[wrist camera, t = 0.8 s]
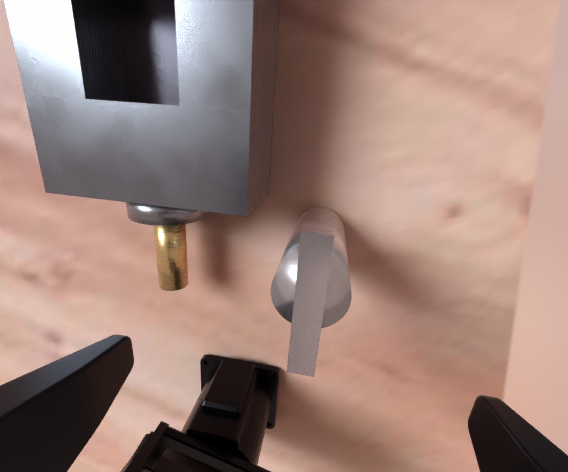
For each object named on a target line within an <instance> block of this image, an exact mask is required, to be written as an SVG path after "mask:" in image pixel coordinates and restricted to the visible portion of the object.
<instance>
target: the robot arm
mask: <svg viewBox="0 0 568 472" xmlns="http://www.w3.org/2000/svg"><path fill="white" fill-rule="evenodd" d="M207 361H208V362H207ZM200 363H201V394H200V396H199V398H198V400H197V402H196V404H195V406H194V408H193V410H192V412H191V414H190V416H189V418H188V420H187V422H186V424H185V426H184V428H183V430H182V432H181V431H179V430H176V429H174V428H172V427H170V426H169V424H167V423H165V422H162V421H161V422H160V424H159V425H158V427H157V428H156V430H155V431H154V432H151V433H150V434H146V435H145V437H144V438H143V440H142V442H141V443H140V445H139V446H138V448H137V450H136V451H135V453H134V454H133V456H132V457H131V459H130V460H129V462H128V463H127V464H126V465H125V467H124V468H123V469H122V470H121V471H120V472H271V471H268V470H266V469H264V468H262V467H259V466H257V464H258V460H259V456H260V451H261V447H262V442H263V438H264V434H265V429H266V428H268V429H272V428H274V426H275V419H276V408H277V397H278V386H279V374H280V372H279V370H278V368H276V367H273V366H267V365H262V364H256V363H251V362H245V361H240V360H234V359H229V358H223V357H218V356H212V355H204V356H203V357H202V359H201V362H200ZM133 364H134V356H133V349H132V342H131V339H130V337H128V336H123V335H112V336H110V337H108V338H106V339H103V340H101V341H99V342H97V343H94V344H92V345H90V346H88V347H86V348H83V349H81V350H79V351H77V352H74V353H72V354H70V355H68V356H65V357H63V358H61V359H59V360H56V361H54V362H52V363H50V364H48V365H45V366H43V367H41V368H39V369H36V370H34V371H32V372H30V373H27V374H25V375H23V376H21V377H18V378H16V379H14V380H12V381H10V382H7V383H5V384H3V385H1V386H0V472H67V471H68V469H69V468H70V467H71V465H72V464H73V462H74V461H75V459H76V458H77V456H78V455H79V454H80V452H81V451H82V449H83V448H84V446H85V445H86V444H87V442H88V441H89V439H90V438H91V436H92V435H93V433H94V432H95V430H96V429H97V427H98V426H99V424H100V423H101V421H102V420H103V418H104V416H105V415H106V413H107V411H108V409H109V408H110V406H111V404H112V402H113V401H114V399H115V397H116V396H117V394H118V392H119V390H120V389H121V387H122V385H123V383H124V382H125V380H126V378H127V377H128V375H129V373H130V371H131V369H132V367H133ZM272 373H274V374H272ZM468 429H469V433H470V437H471V441H472V444H473V448H474V451H475V455H476V458H477V462H478V466H479V469H480V472H568V455H566V454H565V453H564V452H563V451H562V450H560V449H559V448H558V447H557V446H556V445H554V444H553V443H552V442H551V441H550V440H548V439H547V438H546V437H545V436H543V435H542V434H541V433H540V432H539V431H538V430H536V429H535V428H534V427H533V426H532V425H530V424H529V423H528V422H527V421H526V420H524V419H523V418H522V417H521V416H520V415H518V414H517V413H516V412H515V411H514V410H512V409H511V408H510V407H509V406H507V405H506V404H505V403H504V402H503V401H501V400H500V399H498V398H495V397H489V396H483V395H480V396H478V397H477V398H476V400H475V403H474V406H473V408H472V411H471V414H470V416H469V419H468Z"/></svg>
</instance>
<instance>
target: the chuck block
mask: <svg viewBox="0 0 568 472" xmlns="http://www.w3.org/2000/svg"><path fill="white" fill-rule="evenodd" d="M4 2H5V7H6V11H7V16H8V21H9V25H10V30H11V34H12V39H13V44H14V48H15V53H16V57H17V62H18V67H19V71H20V76H21V80H22V85H23V90H24V94H25V99H26V103H27V108H28V113H29V117H30V122H31V127H32V131H33V136H34V140H35V145H36V150H37V154H38V159H39V163H40V168H41V173H42V177H43V182H44V186H45V191H46V193H54V194H63V195H71V196H80V197H88V198H96V199H105V200H113V201H122V202H126V204H127V213H128V218H129V219H130V220H132V221H134V222H137V223H141V224H147V225H154V233H155V244H156V255H157V267H158V278H159V287H160V288H161V289H163V290H167V291H175V290H180V289H182V288H184V287H186V286H187V285H188V265H187V244H186V224H187V223H192V222H195V221H198V220H201V219H203V218H204V217H206V215H207V212H214V213H223V214H231V215H240V216H248V215H249V214H250V213H251V212H252V211H253V210H254V209H255V208H256V207H257V206H258V205H259V204H260V203H261V202H262V201H263V200H264V199H265V198H266V197H267V196H268V195H269V177H270V159H271V141H272V123H273V105H274V86H275V68H276V50H277V32H278V14H279V0H4Z"/></svg>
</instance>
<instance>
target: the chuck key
mask: <svg viewBox="0 0 568 472" xmlns="http://www.w3.org/2000/svg"><path fill="white" fill-rule="evenodd" d="M271 297H272V301H273V304H274V306H275V308H276V309H277V311H278V312H279V313H280V315H281V316H282V317H284V318H285V319H286V320H287V321H289V322H291V323H292V325H291V335H290V345H289V355H288V365H287V372H290V373H296V374H301V375H307V376H312V377H314V374H315V368H316V361H317V354H318V347H319V340H320V333H321V328H324V327H328V326H330V325H332V324H334V323H336V322H338V321H339V320H340V319H341V318H342V317H343V316H344V315H345V314H346V312H347V311H348V309H349V306H350V303H351V297H352V296H351V285H350V276H349V267H348V258H347V249H346V240H345V231H344V224H343V222H342V220H341V218H340V217H339V215H338V214H337V213H335V212H334V211H333V210H331V209H328V208H325V207H314V208H310V209H308V210H306V211H305V212H303V213H302V214H301V215H300V216H299V218H298V220H297V222H296V224H295V227H294V229H293V232H292V234H291V237H290V239H289V242H288V244H287V247H286V249H285V252H284V254H283V257H282V259H281V262H280V264H279V266H278V269H277V271H276V274H275V276H274V279H273V282H272V285H271Z"/></svg>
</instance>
